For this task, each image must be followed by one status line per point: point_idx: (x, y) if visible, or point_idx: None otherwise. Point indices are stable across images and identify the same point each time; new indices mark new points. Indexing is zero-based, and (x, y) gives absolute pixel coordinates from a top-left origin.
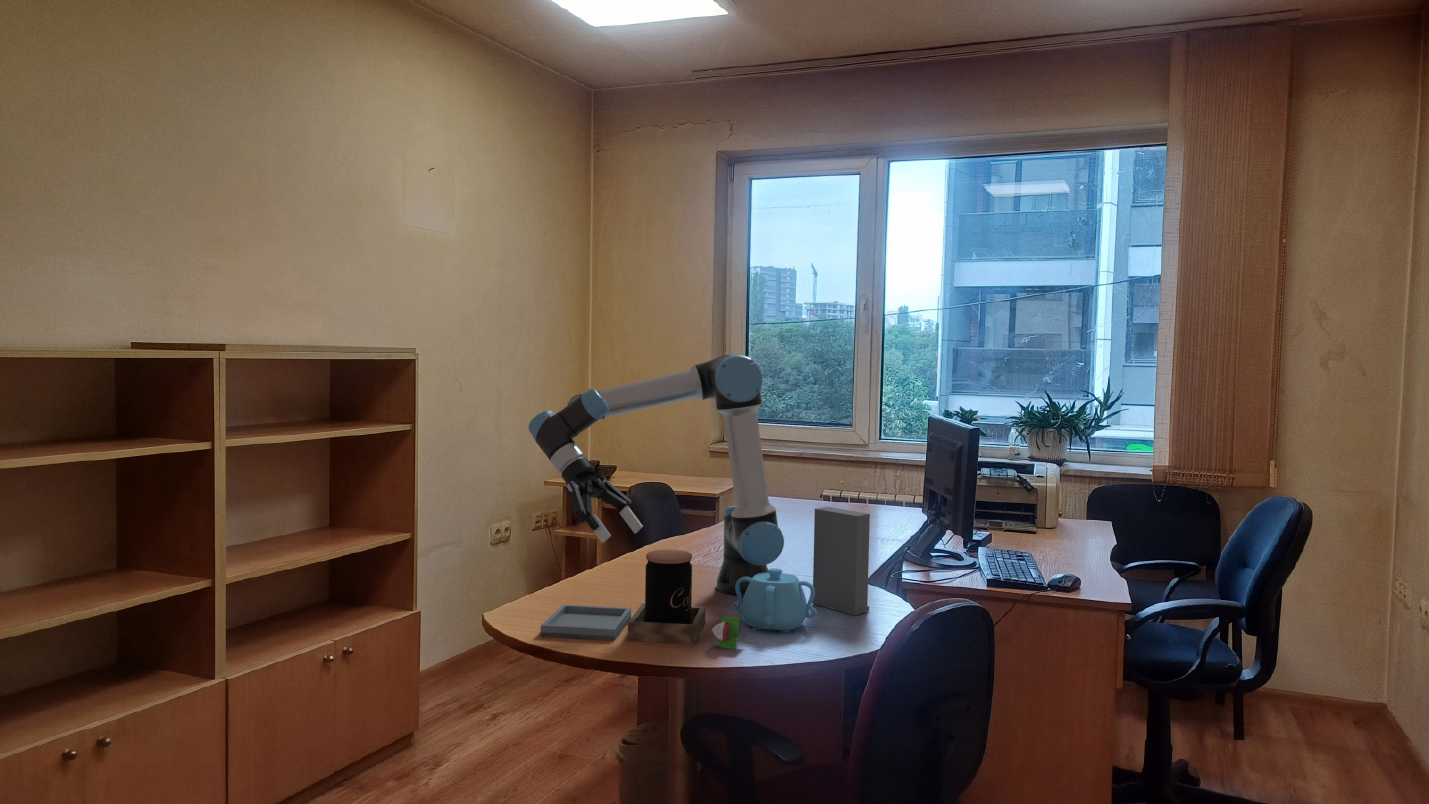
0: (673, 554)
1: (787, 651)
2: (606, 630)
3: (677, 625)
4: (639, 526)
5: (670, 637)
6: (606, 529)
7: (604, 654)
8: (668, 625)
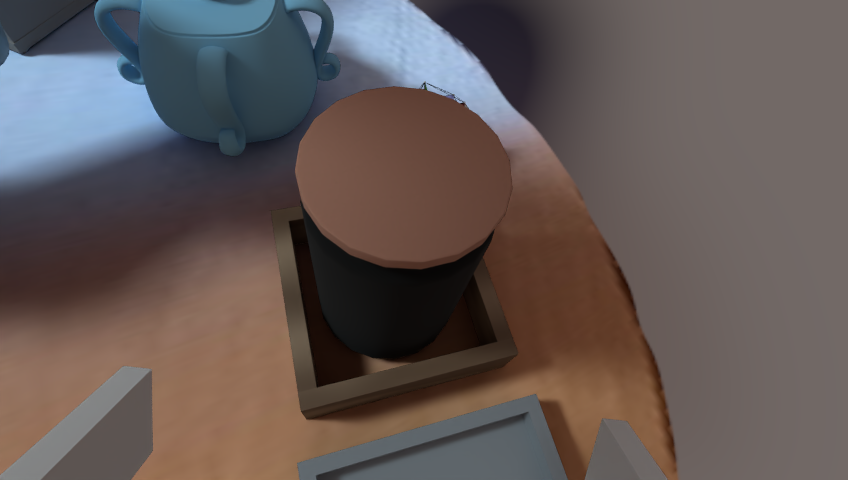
0: (399, 148)
1: (403, 57)
2: (544, 420)
3: None
4: (143, 390)
5: None
6: (637, 463)
7: (623, 371)
8: None
